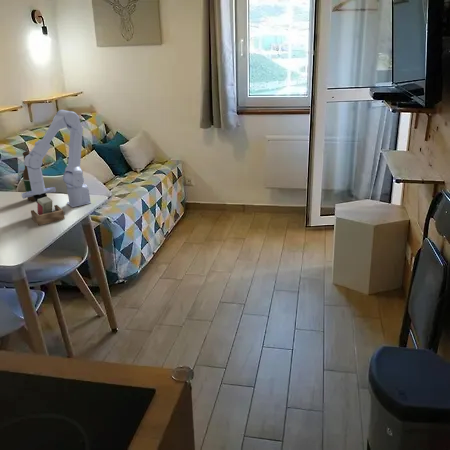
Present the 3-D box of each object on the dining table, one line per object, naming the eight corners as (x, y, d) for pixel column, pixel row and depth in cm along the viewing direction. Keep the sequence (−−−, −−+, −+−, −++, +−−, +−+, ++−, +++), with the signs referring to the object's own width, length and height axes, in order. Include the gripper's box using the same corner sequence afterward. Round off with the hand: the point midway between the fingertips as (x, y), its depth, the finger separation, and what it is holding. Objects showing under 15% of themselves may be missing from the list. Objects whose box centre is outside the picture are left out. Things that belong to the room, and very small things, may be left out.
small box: (46, 210, 220) (46, 195, 216) (52, 214, 218) (52, 200, 214) (37, 213, 217) (36, 198, 212) (42, 218, 215) (42, 203, 211)
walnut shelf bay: (58, 213, 220) (56, 204, 219) (64, 218, 213) (63, 210, 211) (32, 219, 214) (30, 210, 213) (38, 225, 207) (36, 216, 205)
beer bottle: (24, 200, 240) (14, 153, 231) (37, 195, 246) (28, 149, 237) (33, 202, 236) (23, 154, 227) (47, 197, 242) (38, 151, 233)
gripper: (50, 176, 221) (55, 204, 226) (17, 182, 214) (23, 211, 219) (55, 179, 216) (60, 208, 221) (21, 186, 208) (27, 215, 213)
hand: (42, 209), depth 219 cm, fingers closed
